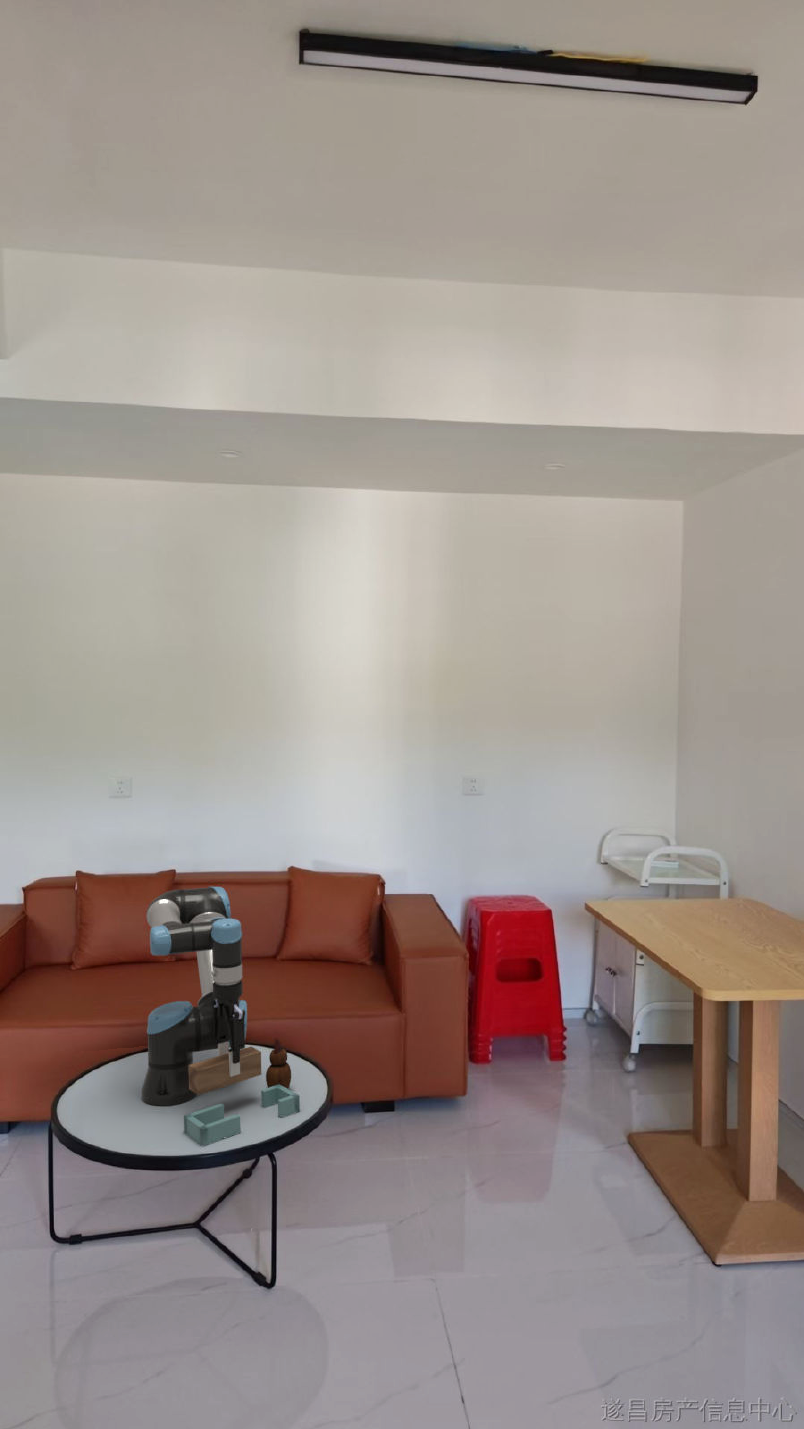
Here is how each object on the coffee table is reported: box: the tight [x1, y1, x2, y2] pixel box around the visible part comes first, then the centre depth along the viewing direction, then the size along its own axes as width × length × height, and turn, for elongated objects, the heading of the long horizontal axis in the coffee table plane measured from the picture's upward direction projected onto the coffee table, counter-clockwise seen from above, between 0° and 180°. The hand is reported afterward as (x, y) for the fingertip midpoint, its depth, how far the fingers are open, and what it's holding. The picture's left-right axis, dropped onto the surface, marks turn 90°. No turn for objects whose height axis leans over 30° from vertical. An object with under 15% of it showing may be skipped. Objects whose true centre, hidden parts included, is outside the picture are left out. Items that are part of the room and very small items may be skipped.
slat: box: [189, 1046, 262, 1096], centre depth 220 cm, size 5×18×6 cm, turn 130°
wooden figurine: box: [265, 1037, 292, 1089], centre depth 230 cm, size 7×6×15 cm
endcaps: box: [183, 1084, 301, 1147], centre depth 213 cm, size 10×27×4 cm, turn 130°
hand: (229, 1071), depth 221 cm, fingers closed on slat, 5 cm apart
